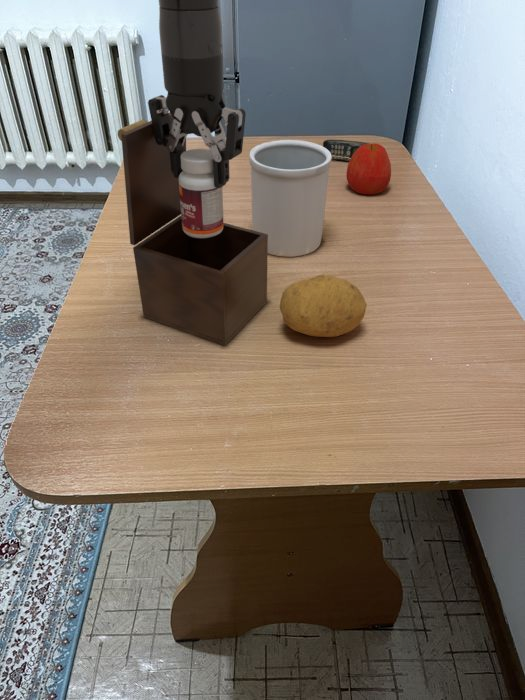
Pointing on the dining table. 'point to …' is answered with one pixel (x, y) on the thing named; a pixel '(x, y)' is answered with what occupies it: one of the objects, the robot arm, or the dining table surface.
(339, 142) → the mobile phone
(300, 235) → the utensil holder
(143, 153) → the lid
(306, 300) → the potato
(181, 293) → the chest
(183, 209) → the pill bottle
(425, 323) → the dining table surface
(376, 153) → the apple
